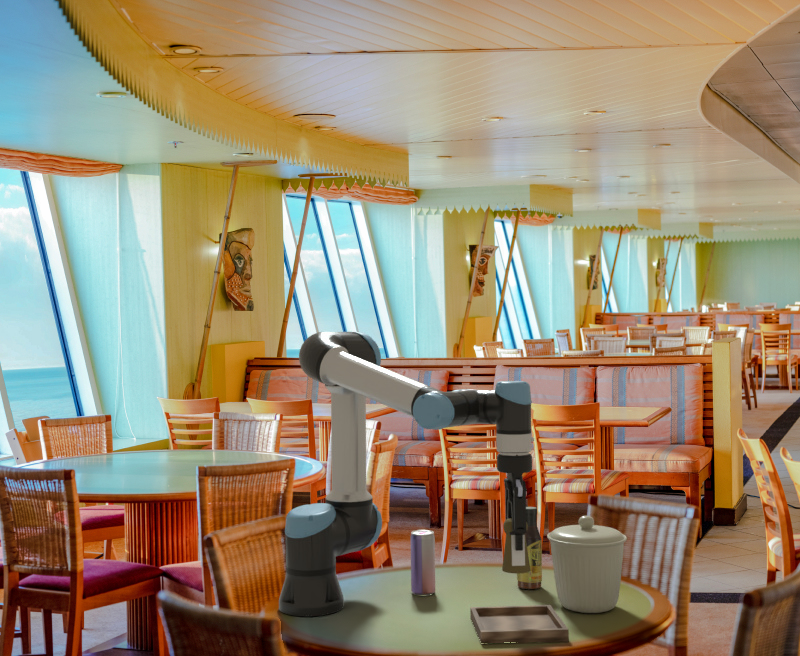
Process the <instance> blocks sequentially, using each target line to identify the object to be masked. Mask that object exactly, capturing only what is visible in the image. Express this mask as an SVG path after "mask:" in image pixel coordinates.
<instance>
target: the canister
mask: <svg viewBox="0 0 800 656" xmlns="http://www.w3.org/2000/svg"><path fill="white" fill-rule="evenodd" d="M546 535H547V536H546V537H547V539H548V540H549V542H550V543H549V544H550V551H551V553H550V554H551V558H552V559H551V560H552V567H553V575H554V582H555V589H556V594H557V599H558V601H559V603H560V604H561V606H562V607H564V608H565V609H567V610H569V611H572V612H576V613H583V614H601V613H605V612H608V611H611V610H612V609H613V610H614V608H615V607H616V605H617V603H618V601H619V597H620V591H621V590H620V589H621V580H622V572H623V571H622V570H623V561H624V559H623V558H624V546H625V542H626V541H627V539H628V538H627V536H626V535H625V534H623V533H622V532H621V531H619V530H618V529H616V528H614V527H609V526H604V525H597V524H595V520H594V518H593V517H592V516H590V515H582V516H580V517H579V518H578V524H571V525H563V526H559V527H556V528H554V530H552V531H550V532H548V533H547V534H546Z"/></svg>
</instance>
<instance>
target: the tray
mask: <svg viewBox="0 0 800 656" xmlns="http://www.w3.org/2000/svg"><path fill="white" fill-rule="evenodd" d="M469 612H470V620H472V621H471V623H472V622H473V623H472V625H474V626H473V628H474V627H475V628H474V630H475V632H477V633H476V635H477V634H478V635H477V637H479V638H478V639H480V640H479V642H480V641H481V643H504V642H510V643H511V642H516V643H515V644H530V643H529V642H546V643H569V641H570V640H569V639H570V638H569V637H570V635H569V634H570V633H569V632H570V631H569V628H568V627H567V625H566V624H565V623H564V621H563V620H562V618H561V617H560V616H559V615H558V613H557V612H556V611H555V609H554V608H553V606H552V605H551V604H541V605H540V604H535V605H534V604H533V605H505V606H504V605H503V606H501V605H500V606H499V605H498V606H493V605H492V606H470V611H469ZM517 642H518V643H517ZM481 643H480V644H481Z"/></svg>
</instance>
